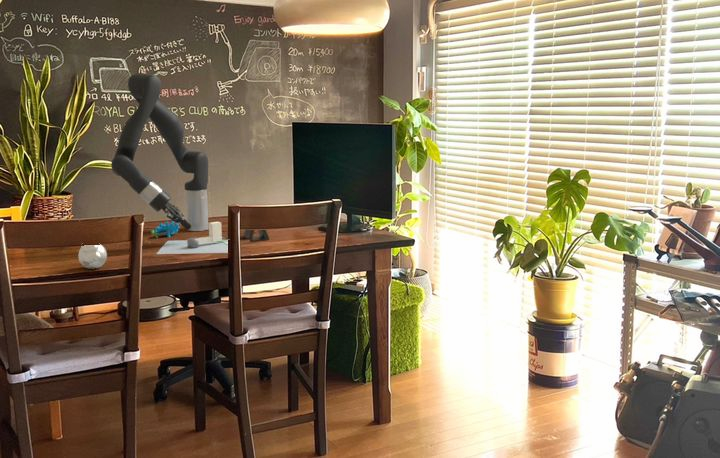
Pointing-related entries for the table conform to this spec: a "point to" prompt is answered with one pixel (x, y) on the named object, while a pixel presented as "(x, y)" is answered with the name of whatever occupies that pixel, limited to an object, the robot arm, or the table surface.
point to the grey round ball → (92, 256)
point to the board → (182, 248)
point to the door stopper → (263, 236)
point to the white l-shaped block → (214, 236)
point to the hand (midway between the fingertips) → (189, 228)
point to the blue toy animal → (165, 229)
